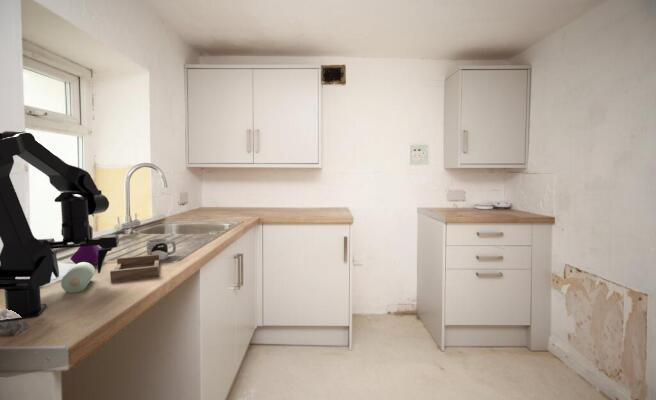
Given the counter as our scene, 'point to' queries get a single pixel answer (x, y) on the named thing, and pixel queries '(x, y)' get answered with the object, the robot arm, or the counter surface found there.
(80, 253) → the perfume bottle
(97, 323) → the counter surface
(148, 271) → the holder
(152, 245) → the mug
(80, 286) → the roll
